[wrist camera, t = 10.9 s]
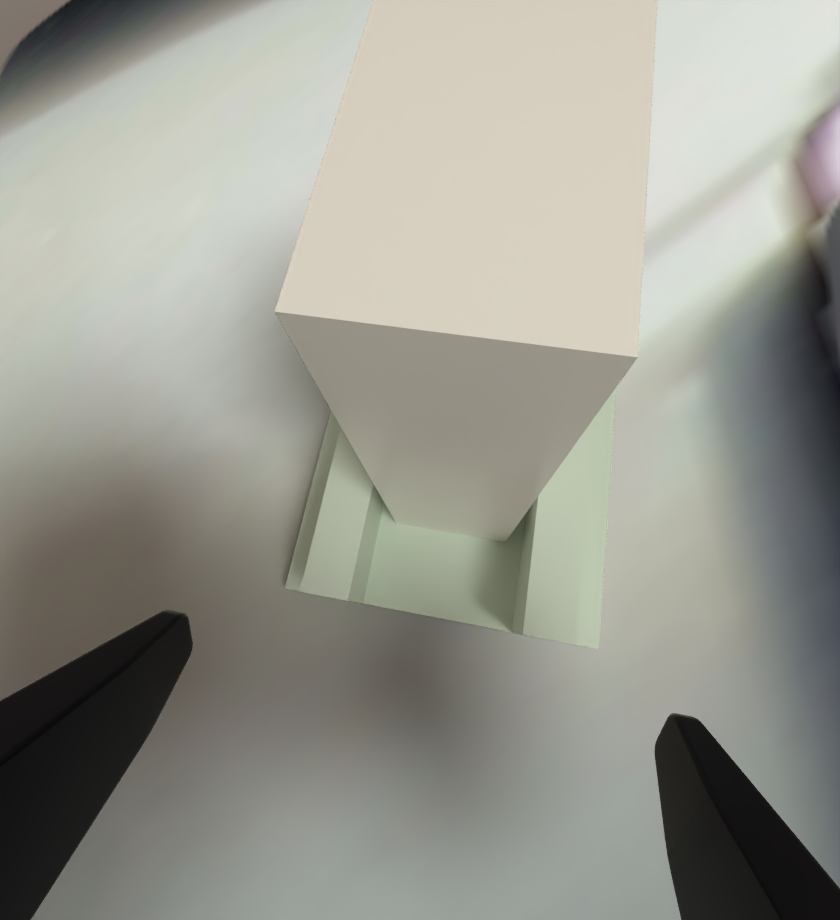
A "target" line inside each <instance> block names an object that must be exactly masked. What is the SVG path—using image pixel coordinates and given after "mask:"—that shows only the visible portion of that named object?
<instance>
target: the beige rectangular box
mask: <svg viewBox="0 0 840 920" xmlns="http://www.w3.org/2000/svg"><path fill="white" fill-rule="evenodd" d="M657 1H658V0H373V3H372V6H371V9H370V12H369V15H368V18H367V22H366V25H365V28H364V31H363V34H362V37H361V40H360V44H359V47H358V50H357V53H356V56H355V59H354V62H353V66H352V69H351V72H350V75H349V78H348V81H347V85H346V88H345V91H344V94H343V97H342V100H341V103H340V107H339V110H338V113H337V116H336V119H335V122H334V125H333V129H332V132H331V135H330V138H329V141H328V144H327V148H326V151H325V154H324V157H323V160H322V163H321V166H320V170H319V173H318V176H317V179H316V182H315V185H314V188H313V192H312V195H311V198H310V201H309V204H308V207H307V211H306V214H305V217H304V220H303V223H302V226H301V229H300V233H299V236H298V239H297V242H296V245H295V248H294V252H293V255H292V258H291V261H290V264H289V267H288V270H287V274H286V277H285V280H284V283H283V286H282V289H281V292H280V296H279V299H278V302H277V305H276V308H275V311H274V312H275V313H276V315H277V317H278V319H279V320H280V322H281V324H282V326H283V327H284V329H285V331H286V333H287V334H288V336H289V338H290V339H291V341H292V343H293V345H294V346H295V348H296V350H297V352H298V353H299V355H300V357H301V359H302V360H303V362H304V364H305V366H306V367H307V369H308V371H309V372H310V374H311V376H312V378H313V379H314V381H315V383H316V385H317V386H318V388H319V390H320V392H321V393H322V395H323V397H324V399H325V400H326V402H327V404H328V405H329V407H330V409H331V411H332V412H333V414H334V416H335V418H336V419H337V421H338V423H339V425H340V426H341V428H342V430H343V432H344V433H345V435H346V437H347V439H348V440H349V442H350V444H351V445H352V447H353V449H354V451H355V452H356V454H357V456H358V458H359V459H360V461H361V463H362V465H363V466H364V468H365V470H366V472H367V473H368V475H369V477H370V478H371V480H372V482H373V484H374V485H375V487H376V489H377V491H378V492H379V494H380V496H381V498H382V499H383V501H384V503H385V505H386V506H387V508H388V510H389V511H390V513H391V515H392V517H393V518H394V520H395V522H396V523H397V524H403V525H409V526H414V527H420V528H426V529H432V530H438V531H443V532H449V533H455V534H461V535H466V536H472V537H478V538H484V539H490V540H495V541H501V542H506V540H507V539H508V538H509V536H510V535H511V533H512V532H513V531H514V529H515V528H516V526H517V525H518V524H519V522H520V521H521V519H522V518H523V517H524V515H525V514H526V512H527V511H528V510H529V508H530V507H531V505H532V504H533V503H534V501H535V500H536V498H537V497H538V496H539V494H540V493H541V491H542V490H543V489H544V487H545V486H546V484H547V483H548V482H549V480H550V479H551V478H552V476H553V475H554V473H555V472H556V471H557V469H558V468H559V466H560V465H561V464H562V462H563V461H564V459H565V458H566V457H567V455H568V454H569V452H570V451H571V450H572V448H573V447H574V445H575V444H576V443H577V441H578V440H579V438H580V437H581V436H582V434H583V433H584V431H585V430H586V429H587V427H588V426H589V424H590V423H591V422H592V420H593V419H594V418H595V416H596V415H597V413H598V412H599V411H600V409H601V408H602V406H603V405H604V404H605V402H606V401H607V399H608V398H609V397H610V395H611V394H612V392H613V391H614V390H615V388H616V387H617V385H618V384H619V383H620V381H621V380H622V378H623V377H624V376H625V374H626V373H627V371H628V370H629V369H630V367H631V366H632V365H633V363H634V362H635V360H636V359H637V358H638V342H639V324H640V306H641V288H642V270H643V252H644V234H645V216H646V198H647V180H648V162H649V144H650V126H651V108H652V90H653V72H654V54H655V36H656V19H657Z"/></svg>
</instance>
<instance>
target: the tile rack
mask: <svg viewBox="0 0 840 920" xmlns="http://www.w3.org/2000/svg"><path fill="white" fill-rule="evenodd" d="M616 391H617V387H616V388H615V390H614V391H613V392H612V394H611V395H610V397H609V398H608V399H607V401H606V402H605V404H604V405H603V406H602V408H601V409H600V411H599V412H598V413H597V415H596V416H595V418H594V419H593V420H592V422H591V423H590V424H589V426H588V427H587V429H586V430H585V431H584V433H583V434H582V436H581V437H580V438H579V440H578V441H577V443H576V444H575V445H574V447H573V448H572V450H571V451H570V452H569V454H568V455H567V457H566V458H565V459H564V461H563V462H562V464H561V465H560V466H559V468H558V469H557V471H556V472H555V473H554V475H553V476H552V478H551V479H550V480H549V482H548V483H547V484H546V486H545V487H544V489H543V490H542V491H541V493H540V494H539V496H538V497H537V498H536V500H535V501H534V503H533V504H532V505H531V507H530V508H529V510H528V511H527V512H526V514H525V515H524V517H523V518H522V519H521V521H520V522H519V524H518V525H517V526H516V528H515V529H514V531H513V532H512V533H511V535H510V536H509V538H508V539H507V540H506V542H501V541H495V540H490V539H484V538H478V537H472V536H466V535H461V534H455V533H449V532H443V531H438V530H432V529H426V528H420V527H414V526H409V525H403V524H397V523H396V522H395V520H394V518H393V517H392V515H391V513H390V511H389V510H388V508H387V506H386V505H385V503H384V501H383V499H382V498H381V496H380V494H379V492H378V491H377V489H376V487H375V485H374V484H373V482H372V480H371V478H370V477H369V475H368V473H367V472H366V470H365V468H364V466H363V465H362V463H361V461H360V459H359V458H358V456H357V454H356V452H355V451H354V449H353V447H352V445H351V444H350V442H349V440H348V439H347V437H346V435H345V433H344V432H343V430H342V428H341V426H340V425H339V423H338V421H337V419H336V418H335V416H334V414H333V412H332V411H330V415H329V419H328V423H327V426H326V430H325V434H324V438H323V442H322V446H321V450H320V453H319V457H318V461H317V465H316V469H315V473H314V477H313V481H312V484H311V488H310V492H309V496H308V500H307V504H306V508H305V512H304V515H303V519H302V523H301V527H300V531H299V535H298V539H297V543H296V546H295V550H294V554H293V558H292V562H291V566H290V570H289V574H288V577H287V581H286V585H285V589H290V590H295V591H300V592H303V593H309V594H314V595H319V596H324V597H329V598H335V599H340V600H345V601H351V602H357V603H363V604H368V605H373V606H378V607H383V608H389V609H394V610H399V611H404V612H409V613H415V614H420V615H425V616H430V617H435V618H441V619H446V620H451V621H456V622H461V623H467V624H472V625H477V626H482V627H487V628H492V629H498V630H503V631H508V632H513V633H517V634H521V635H526V636H532V637H537V638H542V639H547V640H552V641H558V642H563V643H568V644H573V645H581V646H586V647H591V648H596V649H599V641H600V626H601V612H602V597H603V582H604V567H605V553H606V538H607V523H608V509H609V494H610V479H611V465H612V450H613V435H614V421H615V406H616Z"/></svg>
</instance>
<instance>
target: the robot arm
mask: <svg viewBox="0 0 840 920" xmlns="http://www.w3.org/2000/svg"><path fill="white" fill-rule="evenodd" d="M192 645H193V642H192V636H191V631H190V625H189V620H188V617H187V615H186V614H184V613H180V612H175V611H170V610H166V611H162V612H160V613H158V614H157V615H155V616H153V617H151V618H149V619H148V620H146V621H144V622H142V623H140V624H139V625H137V626H135V627H133V628H131V629H129V630H128V631H126V632H124V633H122V634H120V635H119V636H117V637H115V638H113V639H111V640H110V641H108V642H106V643H104V644H102V645H101V646H99V647H97V648H95V649H93V650H92V651H90V652H88V653H86V654H84V655H83V656H81V657H79V658H77V659H75V660H73V661H72V662H70V663H68V664H66V665H64V666H63V667H61V668H59V669H57V670H55V671H54V672H52V673H50V674H48V675H46V676H45V677H43V678H41V679H39V680H37V681H36V682H34V683H32V684H30V685H28V686H26V687H25V688H23V689H21V690H19V691H17V692H16V693H14V694H12V695H10V696H8V697H7V698H5V699H3V700H1V701H0V920H31V919H32V917H33V915H34V914H35V912H36V911H37V909H38V908H39V906H40V904H41V903H42V901H43V900H44V898H45V897H46V895H47V893H48V892H49V890H50V889H51V887H52V886H53V884H54V883H55V881H56V879H57V878H58V876H59V875H60V873H61V872H62V870H63V868H64V867H65V865H66V864H67V862H68V861H69V859H70V858H71V856H72V854H73V853H74V851H75V850H76V848H77V847H78V845H79V843H80V842H81V840H82V839H83V837H84V836H85V834H86V833H87V831H88V829H89V828H90V826H91V825H92V823H93V822H94V820H95V818H96V817H97V815H98V814H99V812H100V811H101V809H102V808H103V806H104V804H105V803H106V801H107V800H108V798H109V797H110V795H111V793H112V792H113V790H114V789H115V787H116V786H117V784H118V782H119V781H120V779H121V778H122V776H123V775H124V773H125V772H126V770H127V768H128V767H129V765H130V764H131V762H132V761H133V759H134V757H135V756H136V754H137V753H138V751H139V750H140V748H141V747H142V745H143V743H144V742H145V740H146V738H147V737H148V735H149V733H150V732H151V730H152V728H153V726H154V724H155V723H156V721H157V719H158V717H159V715H160V713H161V711H162V709H163V707H164V705H165V703H166V701H167V699H168V697H169V695H170V694H171V692H172V690H173V688H174V686H175V684H176V682H177V680H178V678H179V676H180V674H181V672H182V670H183V668H184V666H185V664H186V663H187V661H188V659H189V657H190V654H191V651H192ZM655 761H656V769H657V777H658V786H659V794H660V802H661V810H662V818H663V826H664V834H665V842H666V849H667V855H668V860H669V865H670V870H671V875H672V880H673V884H674V889H675V893H676V898H677V902H678V907H679V911H680V916H681V920H840V888H839V887H838V886H837V885H836V883H835V882H834V881H833V880H832V879H831V877H830V876H829V875H828V874H827V873H826V871H825V870H824V869H823V868H822V867H821V865H820V864H819V863H818V862H817V861H816V859H815V858H814V857H813V856H812V855H811V853H810V852H809V851H808V850H807V849H806V847H805V846H804V845H803V844H802V843H801V841H800V840H799V839H798V838H797V837H796V835H795V834H794V833H793V832H792V831H791V829H790V828H789V827H788V826H787V825H786V823H785V822H784V821H783V820H782V819H781V817H780V816H779V815H778V814H777V813H776V811H775V810H774V809H773V808H772V807H771V805H770V804H769V803H768V802H767V801H766V799H765V798H764V797H763V796H762V795H761V793H760V792H759V791H758V790H757V789H756V787H755V786H754V785H753V784H752V783H751V781H750V780H749V779H748V778H747V777H746V775H745V774H744V773H743V772H742V771H741V769H740V768H739V767H738V766H737V765H736V763H735V762H734V761H733V760H732V759H731V757H730V756H729V755H728V754H727V753H726V751H725V750H724V749H723V748H722V747H721V745H720V744H719V743H718V742H717V741H716V739H715V738H714V737H713V736H712V735H711V733H710V732H709V731H708V730H707V729H706V727H705V726H704V725H703V724H702V723H701V722H700V721H699V720H698V719H696V718H694V717H691V716H686V715H681V714H676V713H673V714H671V715H669V717H668V718H667V720H666V722H665V724H664V726H663V728H662V730H661V732H660V734H659V736H658V738H657V741H656V744H655Z"/></svg>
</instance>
